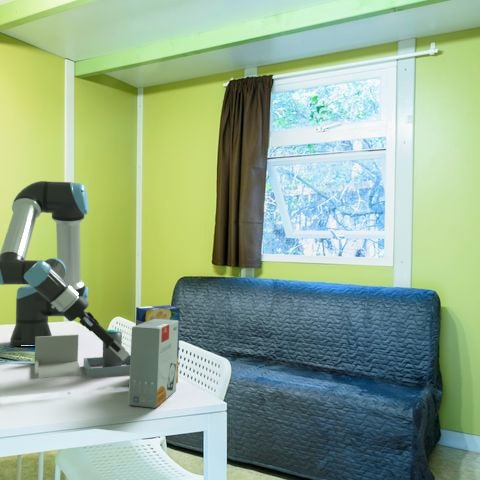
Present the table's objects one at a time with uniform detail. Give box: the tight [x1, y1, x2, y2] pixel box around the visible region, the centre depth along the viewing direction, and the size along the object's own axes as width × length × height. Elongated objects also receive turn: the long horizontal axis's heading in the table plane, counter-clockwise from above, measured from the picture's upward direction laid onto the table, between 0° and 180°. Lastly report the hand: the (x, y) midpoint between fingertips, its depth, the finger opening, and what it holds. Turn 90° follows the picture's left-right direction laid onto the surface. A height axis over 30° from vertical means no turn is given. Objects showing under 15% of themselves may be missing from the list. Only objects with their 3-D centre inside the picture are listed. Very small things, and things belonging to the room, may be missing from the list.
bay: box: [34, 334, 83, 380], centre depth 148 cm, size 18×13×10 cm
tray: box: [83, 354, 131, 379], centre depth 148 cm, size 14×16×4 cm
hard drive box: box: [127, 319, 178, 409], centre depth 127 cm, size 16×8×20 cm, turn 168°
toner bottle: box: [101, 329, 123, 367], centre depth 148 cm, size 6×6×13 cm
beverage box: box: [135, 304, 181, 383], centre depth 142 cm, size 7×11×22 cm, turn 127°
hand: (124, 354), depth 150 cm, fingers open, 6 cm apart
